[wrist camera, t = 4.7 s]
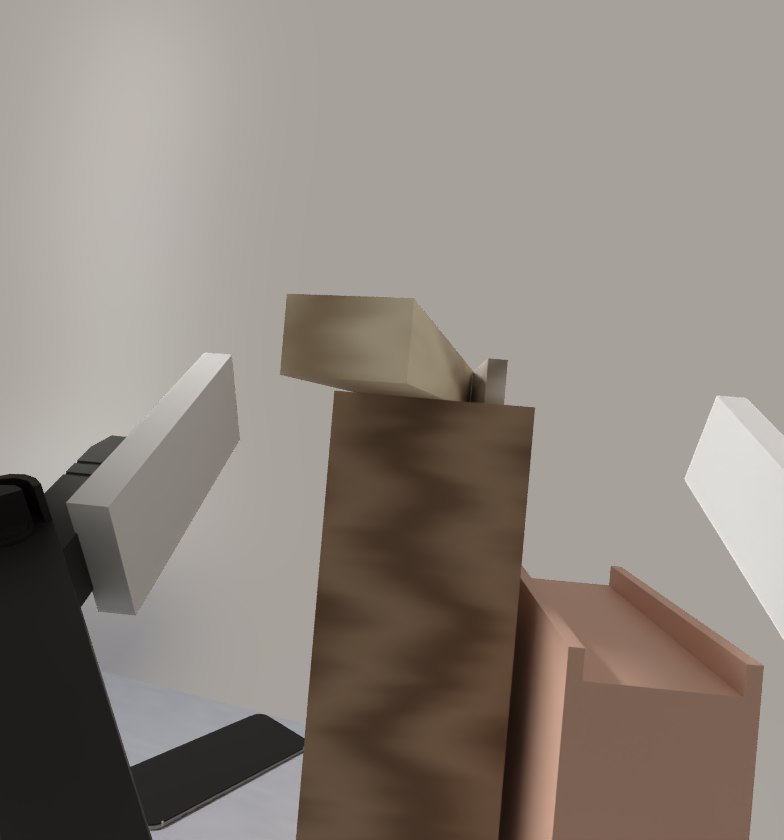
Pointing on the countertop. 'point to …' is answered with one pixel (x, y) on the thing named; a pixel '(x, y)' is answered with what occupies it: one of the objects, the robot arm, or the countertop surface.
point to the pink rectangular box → (625, 719)
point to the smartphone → (211, 767)
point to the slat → (371, 347)
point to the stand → (416, 615)
